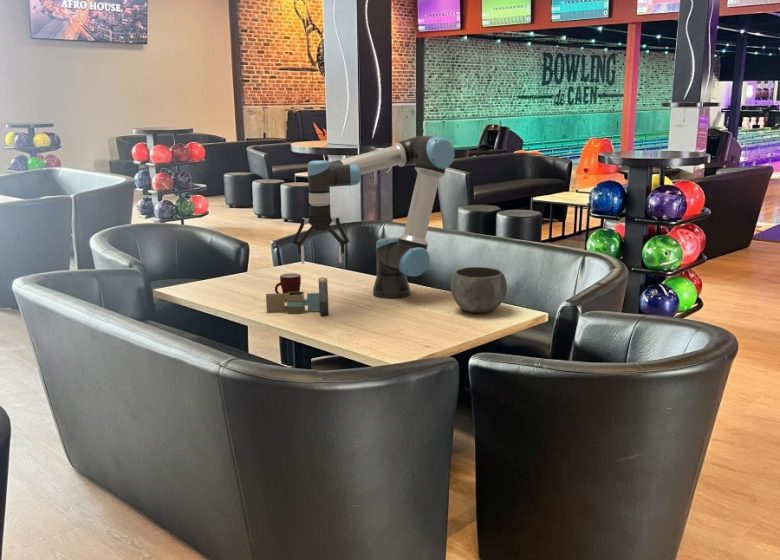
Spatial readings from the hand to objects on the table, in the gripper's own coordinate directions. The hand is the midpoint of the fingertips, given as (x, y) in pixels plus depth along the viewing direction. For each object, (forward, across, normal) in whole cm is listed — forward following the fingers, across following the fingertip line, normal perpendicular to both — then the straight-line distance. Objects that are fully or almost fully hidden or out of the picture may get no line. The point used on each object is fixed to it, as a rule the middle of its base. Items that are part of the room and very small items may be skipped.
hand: (321, 262), depth 281 cm
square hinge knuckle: (+20, +15, -6) cm, 26 cm away
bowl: (+20, -57, -2) cm, 61 cm away
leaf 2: (+20, +7, -6) cm, 22 cm away
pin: (+20, 0, 0) cm, 20 cm away
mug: (+20, +16, -23) cm, 34 cm away
